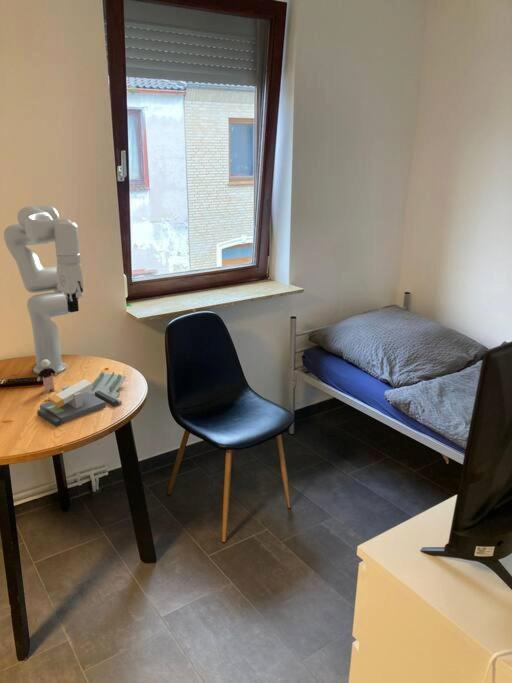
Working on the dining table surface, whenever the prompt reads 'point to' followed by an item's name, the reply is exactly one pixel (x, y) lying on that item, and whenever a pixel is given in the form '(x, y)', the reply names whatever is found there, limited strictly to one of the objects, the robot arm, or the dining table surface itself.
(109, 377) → the metal bracket
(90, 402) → the panel
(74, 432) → the dining table surface
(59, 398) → the rocker lever
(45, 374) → the grandmother figurine
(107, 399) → the pair of grey rails
